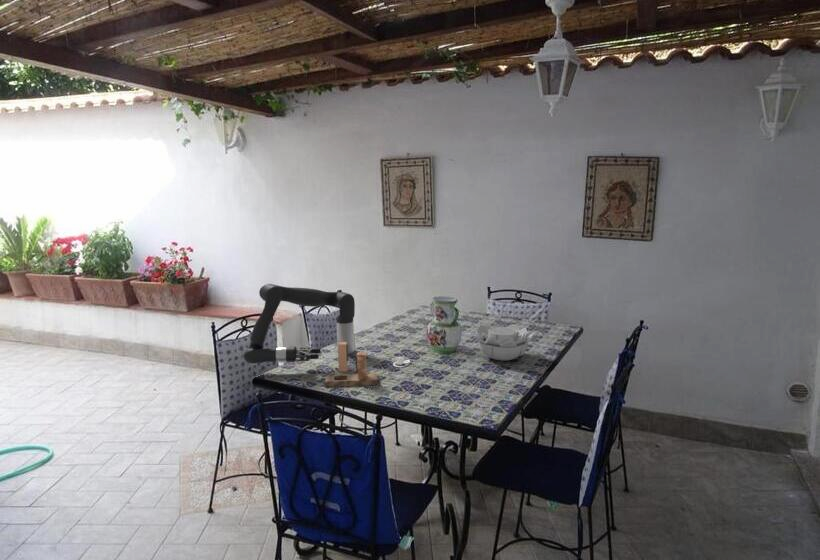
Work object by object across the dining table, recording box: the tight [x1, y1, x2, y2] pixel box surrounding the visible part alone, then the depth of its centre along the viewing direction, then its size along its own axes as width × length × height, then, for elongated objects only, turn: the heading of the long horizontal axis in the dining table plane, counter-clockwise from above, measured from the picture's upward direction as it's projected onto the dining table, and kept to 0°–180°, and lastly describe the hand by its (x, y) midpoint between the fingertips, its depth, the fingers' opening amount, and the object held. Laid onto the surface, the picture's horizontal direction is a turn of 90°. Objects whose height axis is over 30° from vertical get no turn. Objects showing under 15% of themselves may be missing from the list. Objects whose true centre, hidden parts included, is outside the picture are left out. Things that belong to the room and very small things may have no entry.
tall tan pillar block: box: [337, 342, 349, 373], centre depth 258 cm, size 5×4×14 cm
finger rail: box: [324, 351, 379, 388], centre depth 242 cm, size 24×8×14 cm, turn 93°
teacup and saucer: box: [392, 356, 411, 368], centre depth 266 cm, size 9×8×4 cm
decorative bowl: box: [474, 323, 535, 362], centre depth 273 cm, size 30×30×15 cm
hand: (319, 353), depth 257 cm, fingers open, 8 cm apart
